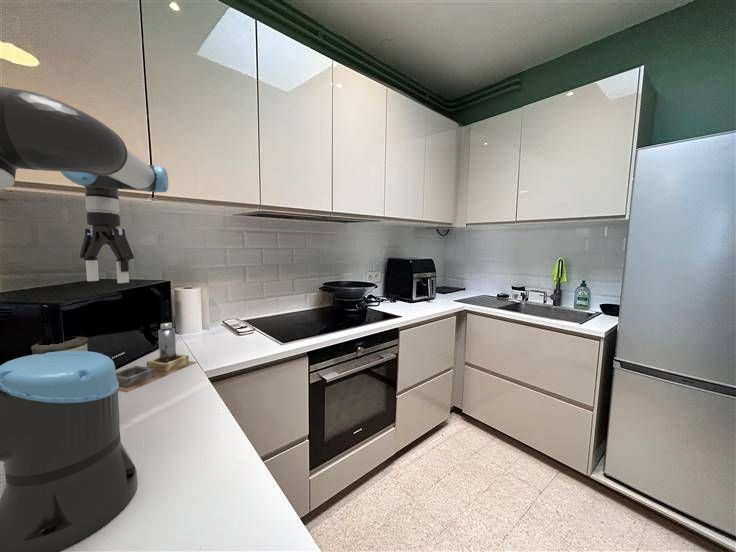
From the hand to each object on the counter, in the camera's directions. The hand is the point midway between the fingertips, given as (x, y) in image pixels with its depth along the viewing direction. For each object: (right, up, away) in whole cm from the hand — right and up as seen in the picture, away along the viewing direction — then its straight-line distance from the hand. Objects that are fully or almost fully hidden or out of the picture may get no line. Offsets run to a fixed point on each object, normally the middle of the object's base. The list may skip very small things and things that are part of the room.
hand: (107, 281), depth 89 cm
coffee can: (-2, -30, -11) cm, 32 cm away
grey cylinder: (+16, -27, +4) cm, 32 cm away
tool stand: (+15, -29, -1) cm, 33 cm away
